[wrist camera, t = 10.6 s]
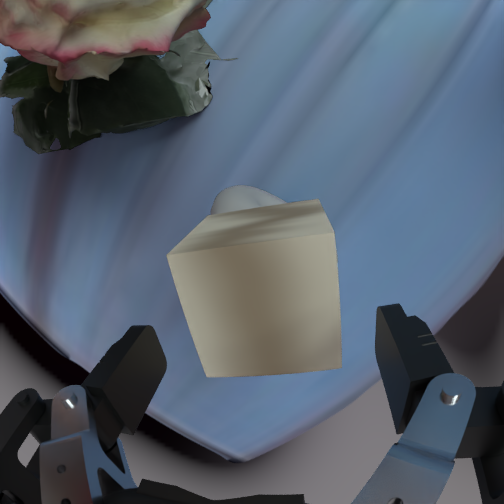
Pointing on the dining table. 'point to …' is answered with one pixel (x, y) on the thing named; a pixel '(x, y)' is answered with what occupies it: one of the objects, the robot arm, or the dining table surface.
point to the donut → (243, 199)
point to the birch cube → (261, 290)
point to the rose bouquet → (102, 66)
